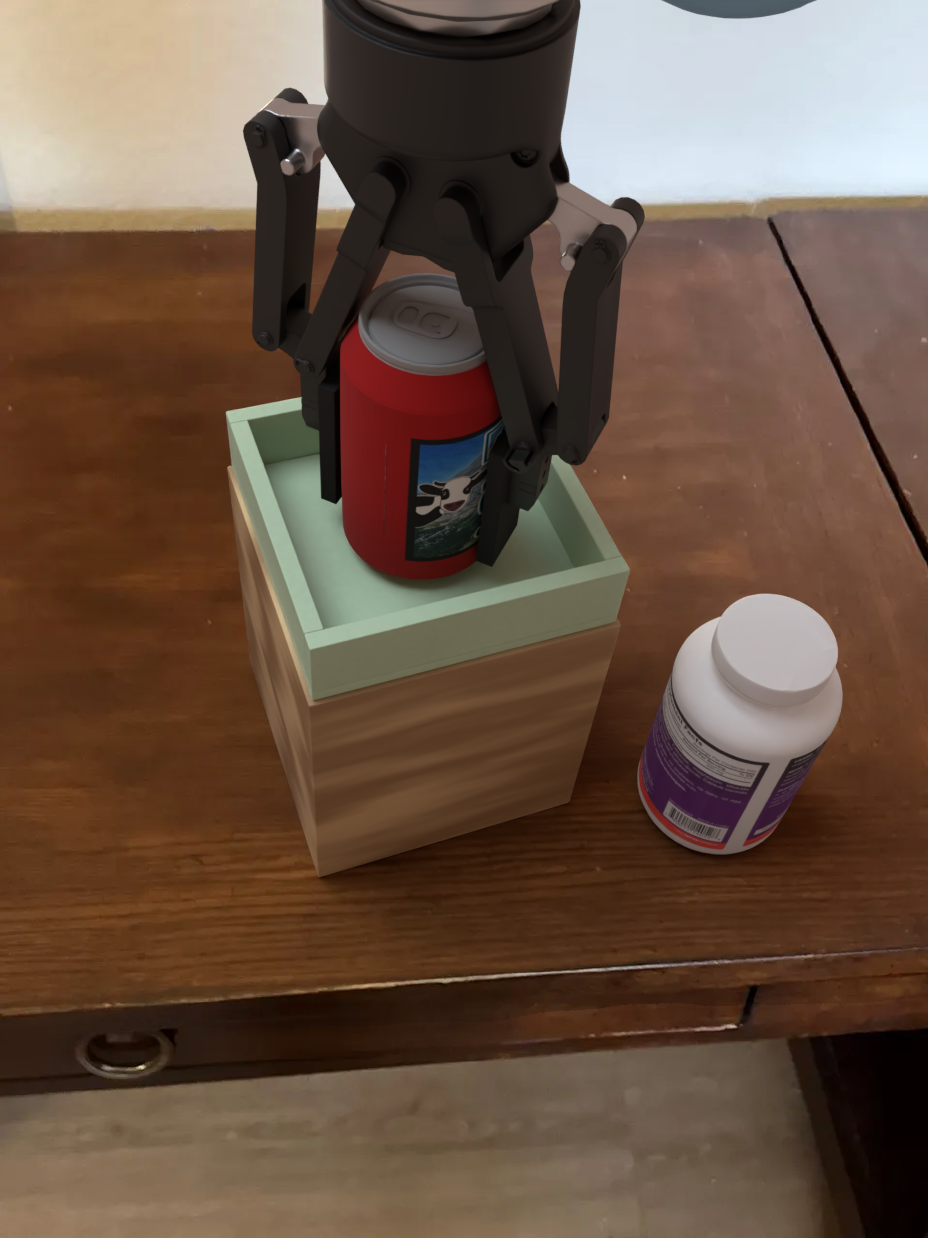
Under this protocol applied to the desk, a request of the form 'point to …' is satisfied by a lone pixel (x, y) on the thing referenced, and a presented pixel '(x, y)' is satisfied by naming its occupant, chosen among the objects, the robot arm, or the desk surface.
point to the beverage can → (415, 428)
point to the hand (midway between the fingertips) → (419, 511)
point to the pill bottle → (740, 724)
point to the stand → (420, 732)
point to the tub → (405, 608)
